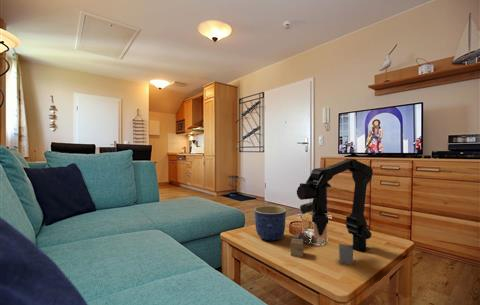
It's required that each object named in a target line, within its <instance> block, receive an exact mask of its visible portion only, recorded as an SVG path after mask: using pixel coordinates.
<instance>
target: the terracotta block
mask: <svg viewBox="0 0 480 305" xmlns="http://www.w3.org/2000/svg"><path fill="white" fill-rule="evenodd" d="M327 236H328V235H327V226H326V227H325V229H324V231H323V234H322V236H320V235H319V233H318V229H317V225H316V223H315V222H313V237H314V238H315V239H323V240H327Z"/></svg>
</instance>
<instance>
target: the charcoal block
mask: <svg viewBox="0 0 480 305" xmlns="http://www.w3.org/2000/svg"><path fill="white" fill-rule="evenodd" d="M352 245H353V244H351V245H350V244H342V243H339V244H338V260H339V263H340V264H346V265H354V249H353V248H352Z"/></svg>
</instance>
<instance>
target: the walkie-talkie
mask: <svg viewBox="0 0 480 305" xmlns="http://www.w3.org/2000/svg"><path fill="white" fill-rule="evenodd" d="M293 239H302V240H303V243H306V242H307V243H306V244H310V243H309V242H310V240H309V239H311V238H310V237H308V236H307V233H306V232H303V233H302V231H301V230H300V231H299V233H296V234H295V236H294V238H293ZM305 241H306V242H305Z"/></svg>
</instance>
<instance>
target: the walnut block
mask: <svg viewBox="0 0 480 305" xmlns="http://www.w3.org/2000/svg"><path fill="white" fill-rule="evenodd" d="M290 256H291V257H298V258H303V257H304V242H303V240H302V239H294V238H291V240H290Z"/></svg>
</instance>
